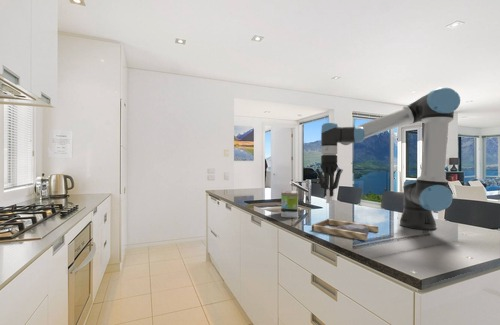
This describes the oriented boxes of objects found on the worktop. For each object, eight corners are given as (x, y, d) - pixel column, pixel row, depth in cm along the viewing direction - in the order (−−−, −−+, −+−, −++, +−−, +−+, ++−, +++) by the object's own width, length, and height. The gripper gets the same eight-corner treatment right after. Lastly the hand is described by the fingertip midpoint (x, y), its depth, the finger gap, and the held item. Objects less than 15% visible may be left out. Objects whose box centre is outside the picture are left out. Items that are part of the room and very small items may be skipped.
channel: (378, 231, 115) (378, 226, 115) (366, 240, 102) (366, 234, 102) (328, 223, 132) (327, 218, 132) (311, 230, 118) (311, 225, 118)
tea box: (297, 218, 146) (297, 192, 146) (280, 217, 148) (280, 192, 148) (298, 213, 161) (298, 190, 161) (282, 212, 163) (282, 190, 163)
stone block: (334, 236, 116) (351, 237, 107) (333, 225, 117) (349, 225, 108) (353, 234, 120) (371, 235, 112) (352, 223, 121) (369, 224, 113)
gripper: (313, 154, 123) (313, 202, 123) (339, 154, 115) (339, 205, 115) (320, 155, 129) (320, 200, 129) (345, 154, 120) (345, 203, 120)
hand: (328, 202), depth 122 cm, fingers closed
